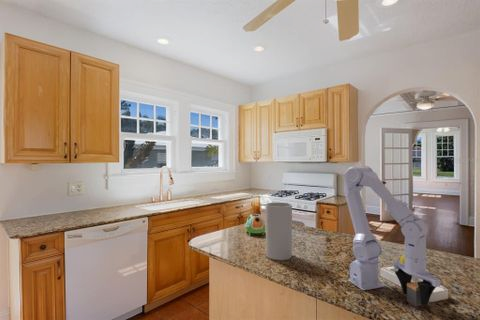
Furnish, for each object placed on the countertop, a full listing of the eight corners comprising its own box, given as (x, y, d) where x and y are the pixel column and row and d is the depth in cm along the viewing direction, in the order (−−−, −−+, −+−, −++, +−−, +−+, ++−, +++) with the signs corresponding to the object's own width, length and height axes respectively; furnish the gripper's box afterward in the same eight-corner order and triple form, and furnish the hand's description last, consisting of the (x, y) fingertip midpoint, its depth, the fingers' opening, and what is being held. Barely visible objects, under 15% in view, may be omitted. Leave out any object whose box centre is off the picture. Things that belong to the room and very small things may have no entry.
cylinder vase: (260, 256, 123) (260, 204, 124) (275, 249, 133) (275, 201, 133) (282, 263, 115) (282, 207, 115) (296, 255, 124) (296, 204, 124)
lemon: (400, 268, 109) (400, 250, 109) (416, 272, 105) (416, 253, 105) (398, 273, 105) (398, 253, 105) (415, 277, 101) (415, 257, 101)
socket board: (447, 298, 85) (447, 287, 85) (429, 302, 83) (429, 290, 83) (396, 273, 105) (396, 264, 105) (380, 275, 102) (380, 266, 102)
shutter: (412, 274, 96) (412, 267, 96) (402, 276, 95) (402, 269, 95) (400, 269, 101) (400, 262, 101) (390, 270, 100) (390, 263, 100)
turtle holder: (259, 228, 175) (259, 211, 175) (267, 236, 157) (267, 216, 157) (242, 229, 172) (242, 211, 172) (248, 237, 154) (248, 217, 154)
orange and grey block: (416, 306, 81) (416, 287, 81) (406, 301, 84) (406, 283, 84) (423, 305, 82) (423, 286, 82) (414, 299, 85) (414, 281, 85)
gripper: (447, 263, 77) (448, 309, 77) (404, 248, 91) (404, 286, 91) (430, 266, 75) (430, 313, 75) (388, 250, 89) (388, 289, 89)
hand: (415, 298), depth 83 cm, fingers open, 6 cm apart
